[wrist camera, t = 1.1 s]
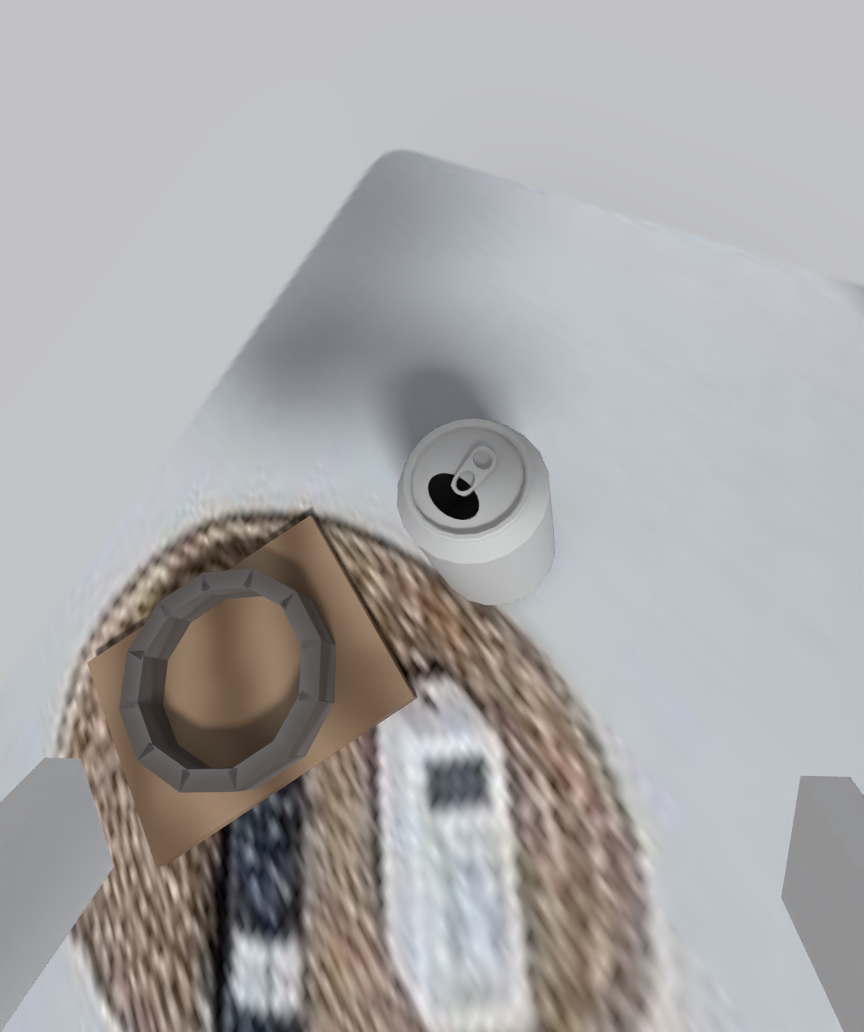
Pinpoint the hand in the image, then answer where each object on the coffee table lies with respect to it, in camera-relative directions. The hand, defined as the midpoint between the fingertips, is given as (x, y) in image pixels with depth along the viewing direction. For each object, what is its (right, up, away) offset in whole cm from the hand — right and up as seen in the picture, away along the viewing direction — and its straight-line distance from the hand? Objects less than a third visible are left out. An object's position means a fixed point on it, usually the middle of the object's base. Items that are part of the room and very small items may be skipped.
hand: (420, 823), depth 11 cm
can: (+4, +3, +28) cm, 28 cm away
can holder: (-12, -5, +28) cm, 31 cm away
